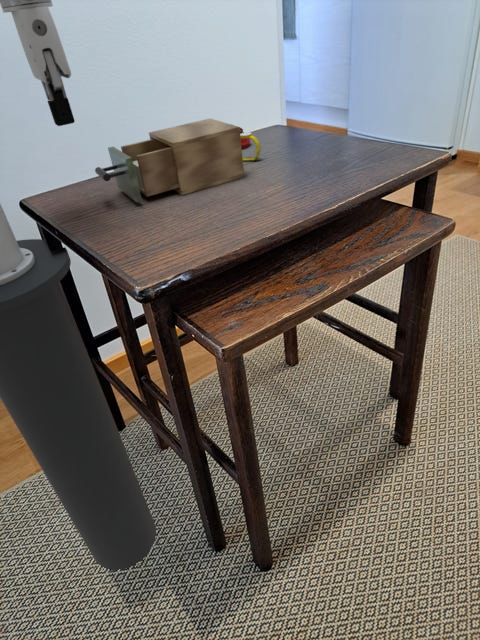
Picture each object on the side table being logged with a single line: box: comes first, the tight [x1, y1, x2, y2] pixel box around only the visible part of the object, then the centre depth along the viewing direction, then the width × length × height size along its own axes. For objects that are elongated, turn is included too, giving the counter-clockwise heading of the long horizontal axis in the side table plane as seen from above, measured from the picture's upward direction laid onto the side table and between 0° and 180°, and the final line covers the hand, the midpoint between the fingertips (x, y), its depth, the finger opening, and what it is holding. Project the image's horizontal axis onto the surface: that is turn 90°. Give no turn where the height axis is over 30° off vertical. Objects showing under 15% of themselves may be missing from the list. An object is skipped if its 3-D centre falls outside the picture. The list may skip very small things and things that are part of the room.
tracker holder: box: [231, 123, 251, 149], centre depth 117 cm, size 12×4×10 cm
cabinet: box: [148, 118, 245, 196], centre depth 95 cm, size 15×13×10 cm
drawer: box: [94, 138, 179, 203], centre depth 90 cm, size 18×12×8 cm
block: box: [133, 161, 144, 188], centre depth 91 cm, size 4×4×4 cm
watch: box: [240, 131, 261, 162], centre depth 103 cm, size 6×3×6 cm, turn 64°
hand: (65, 123), depth 80 cm, fingers closed
